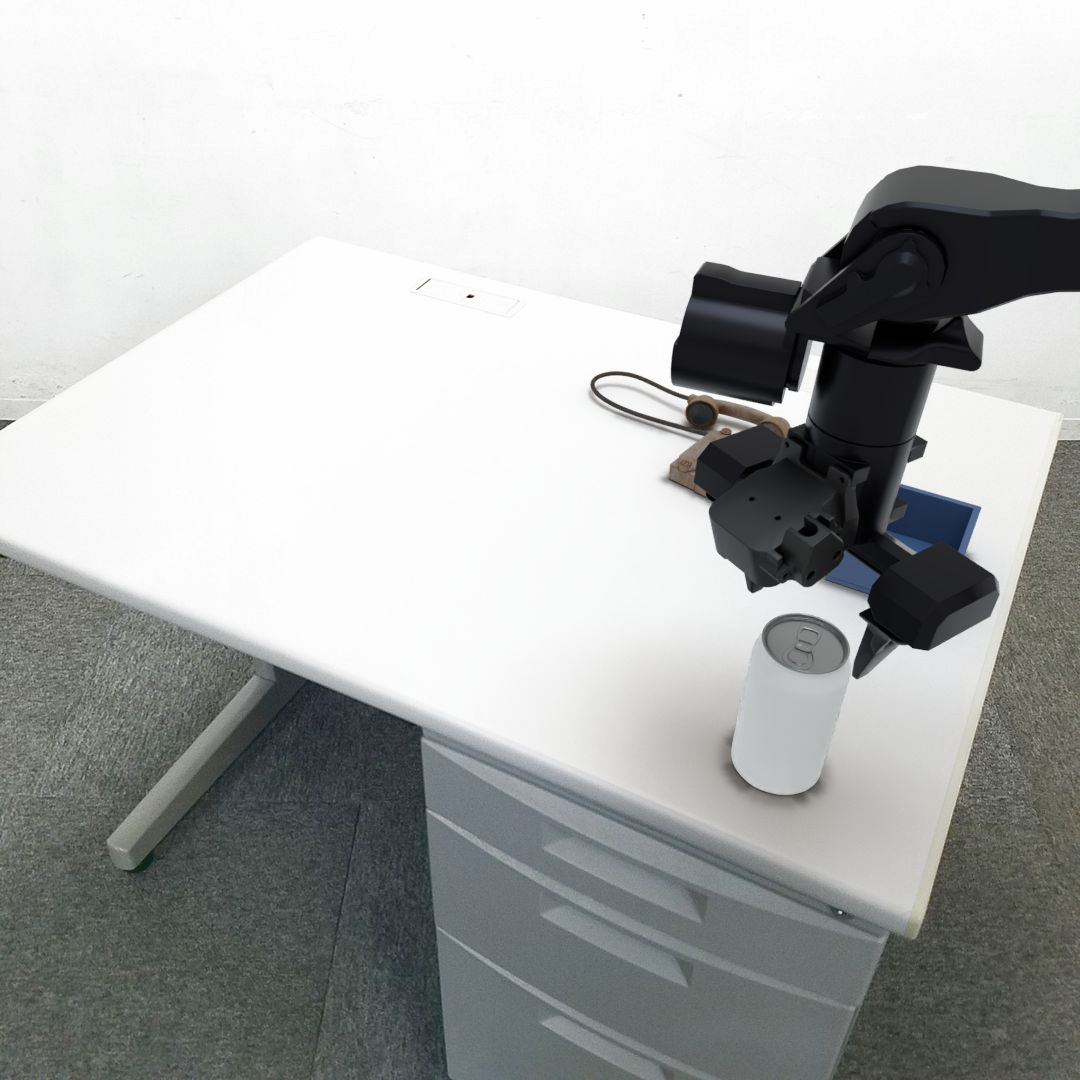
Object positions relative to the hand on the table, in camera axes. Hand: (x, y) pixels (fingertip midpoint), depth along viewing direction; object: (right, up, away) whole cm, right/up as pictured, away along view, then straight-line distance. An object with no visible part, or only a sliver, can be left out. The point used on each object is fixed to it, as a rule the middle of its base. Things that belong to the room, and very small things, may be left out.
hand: (804, 630), depth 61 cm
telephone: (+1, +15, +41) cm, 44 cm away
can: (0, -10, +8) cm, 13 cm away
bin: (+15, +3, +26) cm, 31 cm away
